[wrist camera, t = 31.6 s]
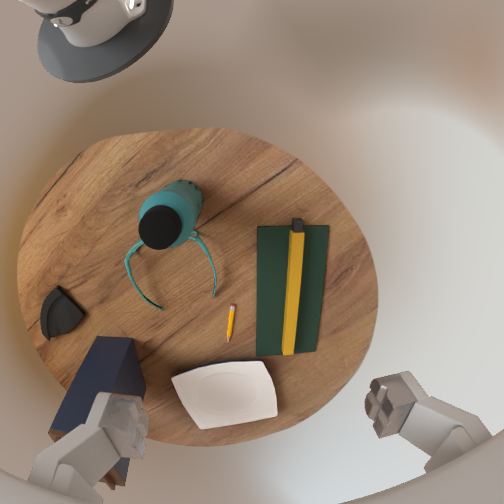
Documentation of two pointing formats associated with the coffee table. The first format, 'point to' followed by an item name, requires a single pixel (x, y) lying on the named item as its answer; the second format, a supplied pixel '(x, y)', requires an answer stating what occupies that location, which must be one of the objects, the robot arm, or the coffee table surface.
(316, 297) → the rubber mat
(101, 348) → the blue tall block
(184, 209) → the beverage bottle
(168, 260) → the coffee table surface
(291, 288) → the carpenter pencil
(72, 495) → the robot arm
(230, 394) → the plate
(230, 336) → the pencil
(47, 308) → the curved wedge
